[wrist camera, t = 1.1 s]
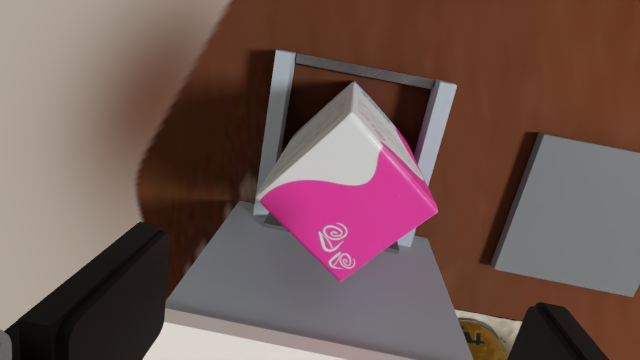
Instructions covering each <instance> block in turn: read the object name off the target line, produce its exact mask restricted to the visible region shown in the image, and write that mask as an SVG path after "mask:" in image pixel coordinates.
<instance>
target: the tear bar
mask: <svg viewBox="0 0 640 360" xmlns="http://www.w3.org/2000/svg"><path fill="white" fill-rule="evenodd" d="M296 63H299V64H304V65H309V66H314V67H319V68H324V69H329V70H335V71H340V72H345V73H350V74H355V75H360V76H366V77H371V78H376V79H381V80H386V81H391V82H397V83H402V84H407V85H412V86H417V87H422V88H428V89H432V87H433V83H434V79H430V78H425V77H420V76H415V75H409V74H404V73H399V72H394V71H389V70H384V69H378V68H373V67H368V66H363V65H358V64H353V63H347V62H342V61H337V60H332V59H327V58H321V57H316V56H311V55H306V54H301V53H297V57H296Z"/></svg>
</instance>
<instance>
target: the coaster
mask: <svg viewBox="0 0 640 360" xmlns="http://www.w3.org/2000/svg"><path fill="white" fill-rule="evenodd" d="M491 265H492V267H493V268H494V269H495V270H500V271H505V272H510V273H515V274H520V275H525V276H530V277H535V278H540V279H545V280H550V281H555V282H560V283H565V284H570V285H575V286H580V287H585V288H590V289H595V290H600V291H605V292H610V293H615V294H620V295H625V296H630V297H633V296H634V294H635V292H636V290H637V288H638V286H639V284H640V152H639V151H634V150H629V149H624V148H619V147H614V146H608V145H603V144H598V143H593V142H588V141H583V140H578V139H572V138H567V137H562V136H557V135H552V134H547V133H542V132H539V133H538V136H537V139H536V141H535V144H534V147H533V149H532V152H531V155H530V158H529V160H528V163H527V166H526V169H525V171H524V174H523V177H522V179H521V182H520V185H519V188H518V190H517V193H516V196H515V198H514V201H513V204H512V207H511V209H510V212H509V215H508V217H507V220H506V223H505V226H504V228H503V231H502V234H501V237H500V239H499V242H498V245H497V247H496V250H495V253H494V256H493V258H492V261H491Z"/></svg>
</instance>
